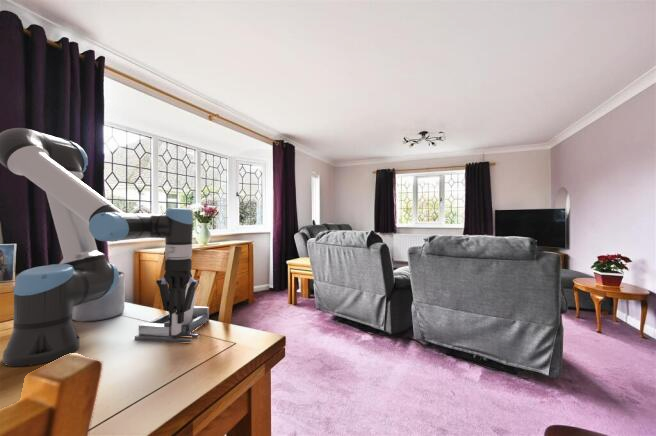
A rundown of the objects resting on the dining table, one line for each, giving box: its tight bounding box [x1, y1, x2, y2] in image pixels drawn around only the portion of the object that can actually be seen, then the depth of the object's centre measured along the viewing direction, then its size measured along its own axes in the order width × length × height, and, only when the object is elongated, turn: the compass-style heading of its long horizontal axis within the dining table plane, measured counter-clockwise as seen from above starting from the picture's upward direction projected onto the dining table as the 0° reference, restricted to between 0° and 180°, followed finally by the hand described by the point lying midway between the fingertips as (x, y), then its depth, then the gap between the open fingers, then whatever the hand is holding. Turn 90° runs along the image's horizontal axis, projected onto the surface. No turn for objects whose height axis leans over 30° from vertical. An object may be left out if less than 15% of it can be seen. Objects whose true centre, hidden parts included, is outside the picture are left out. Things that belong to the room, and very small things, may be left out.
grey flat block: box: [138, 320, 174, 338], centre depth 93 cm, size 10×2×5 cm, turn 84°
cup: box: [168, 284, 197, 326], centre depth 103 cm, size 9×9×12 cm
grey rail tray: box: [148, 305, 210, 333], centre depth 103 cm, size 14×14×5 cm
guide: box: [134, 333, 200, 343], centre depth 93 cm, size 18×5×1 cm, turn 84°
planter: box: [72, 270, 126, 323], centre depth 112 cm, size 16×16×16 cm
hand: (176, 333), depth 93 cm, fingers closed
